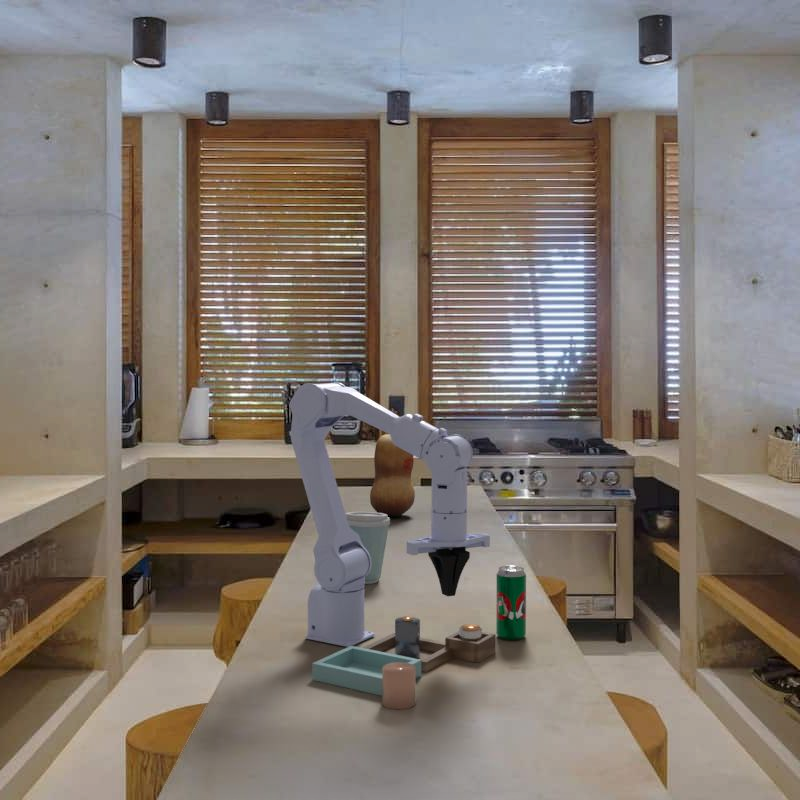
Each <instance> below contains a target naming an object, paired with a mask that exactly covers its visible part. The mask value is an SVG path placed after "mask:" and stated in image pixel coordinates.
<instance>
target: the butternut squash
mask: <svg viewBox="0 0 800 800" xmlns="http://www.w3.org/2000/svg"><path fill="white" fill-rule="evenodd" d="M374 448H375V449H374V455H373V456H374V457H373V461H374V462H373V463H374V480H373V483H372V485H371V489H370V493H369V499H370V501H369V502H370V505H371V507H372V508H373V510H374V511H375V512H376V513H383V514H387V515H388V516H391V517H390V518H393V517H400V516H402V515H404V514H405V513H407V511H409V510H410V509H411V508H412V506H413V505H414V503H415V495H416V491H415V488H414V484H413V481H412V471H413V467H414V463H415V462H414V455H412V454H410V453H408V452H406V451H405V450H403V449H401V448H399V447H397V446H395V445H394V444H393V442H392V440H391V436H390V434H389V433H386V434H383V435H381V436H380V437H379V438H378V439H377V441H376V444H375V447H374Z"/></svg>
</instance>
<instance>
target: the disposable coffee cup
mask: <svg viewBox="0 0 800 800" xmlns="http://www.w3.org/2000/svg"><path fill="white" fill-rule="evenodd" d="M345 514H346V517H347V521H348V524H349V527H350V528H351V529H352V530H353V531H355V532H356V533H357V534H358V535H359V536H360V539H361V542H362V544H363V546H364V547H365V548H366V550H367V551H368V552H369V554H370V557H371V562H372V565H371V569H370V572H369V573H368V575H367V576H366V577H365V584H364V585H366V584H367V585H370V584H371V585H372V584H376V583H378V582H379V581H380V579H381V575H382V568H383V564H384V557H385V552H386V546H387V545H386V544H387V538H388V532H389V527H390V525H391V518H390V517H388V515H387V514H383V513H377V512H376V511H375V512H374V511H373V512H372V511H350V512H345Z"/></svg>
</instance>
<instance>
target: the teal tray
mask: <svg viewBox="0 0 800 800" xmlns="http://www.w3.org/2000/svg"><path fill="white" fill-rule="evenodd" d="M421 660H422V659H420V658H419V659H415V658H410V657H405V656H400V655H395V653H389V652H384V651H382V652H380V651H375V650H370V649H365V648H363V647H360V646H355V645H353V646H349V647H345V648H343V649H341V650H339V651H336V652H334V653H331V654H330V655H326V656H325V657H323V658H321V659H319V660H316V661H314V662H312V664H311V666H312V667H311V670H312V671H311V673H312V674H311V675H312V676H311V678H312V679H311V680H312V681H316V682H321V683H325V684H329V685H332V686H333V685H334V686H338V687H342V688H347V689H351V690H356V691H360V692H364V693H367V694H372V695H376V696H381V697H383V689H382V667H383V666H384V665H386V664H388V663H394V662H404V663H410V664H412V665H414V666H415V680H417V679H419V678H420V677H422V671H421Z"/></svg>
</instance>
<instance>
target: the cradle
mask: <svg viewBox="0 0 800 800" xmlns="http://www.w3.org/2000/svg"><path fill="white" fill-rule="evenodd" d="M392 647H395V632H393V633H391V634H388V635H387V636H385V637H382V638H380V639H378V640H376V641H374V642H371V643H369V644H367V645H365V646H363V647H362V648H365V649H370V650H375V651H380V652H384V651H386V650H388V649H390V648H392ZM420 650H422V651H429V652H433V653H432V654H430V655H428V656H426V657H424V658H422V659H420V660H421V672H423V673H424V672H425V673H427V672H428V671H431V670H432V669H435V668H436V667H437V666H439V665H441V664H443V663H445V662H447V661H448V660H450V659H453V658H452V648H447V647H445V641H440V640H435V639H429V638H424V637H420Z"/></svg>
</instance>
